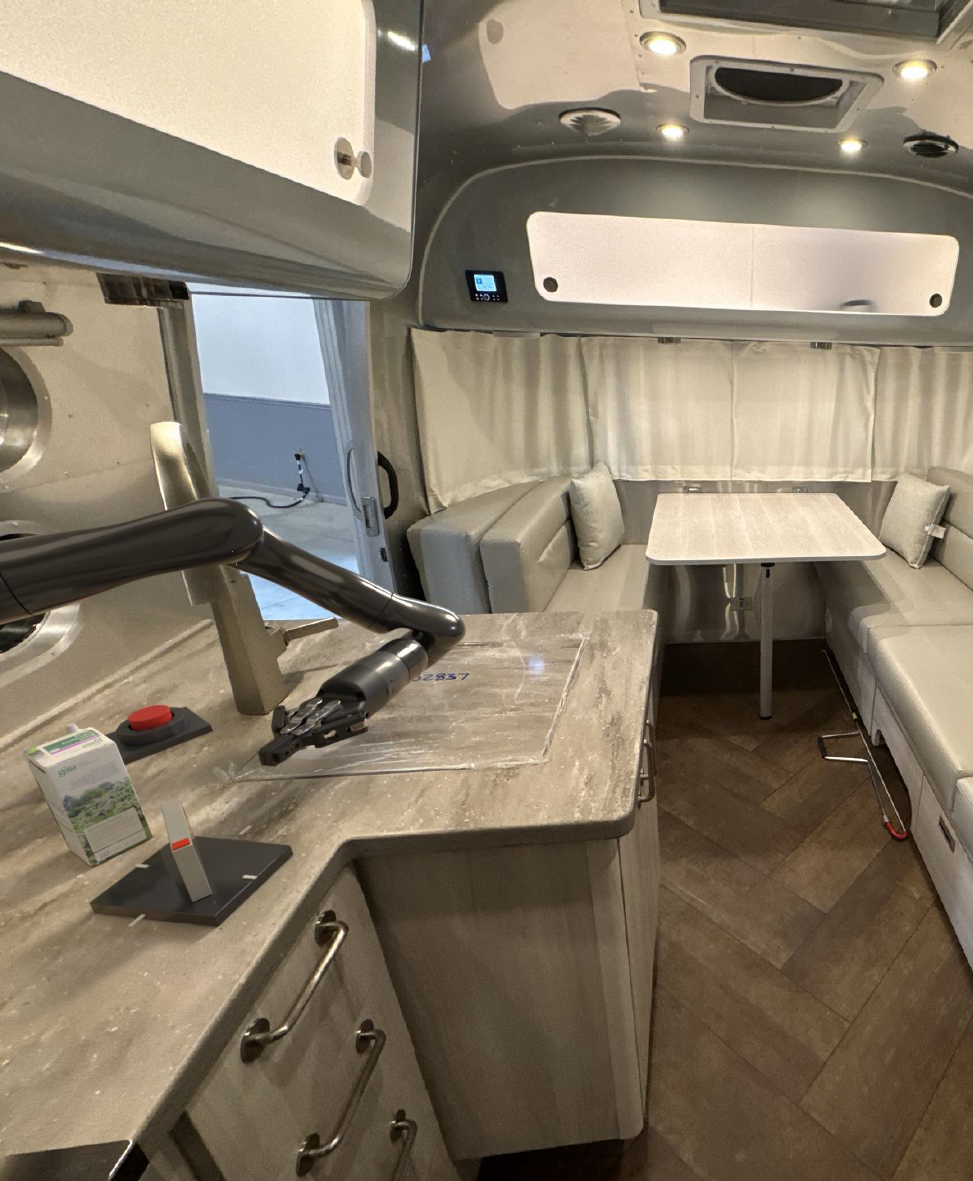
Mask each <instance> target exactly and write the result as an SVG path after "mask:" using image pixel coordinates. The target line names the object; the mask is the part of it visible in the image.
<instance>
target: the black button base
mask: <svg viewBox="0 0 973 1181" xmlns="http://www.w3.org/2000/svg"><path fill="white" fill-rule="evenodd" d="M168 707H169V709H170V712H171V714H172V720H170V721H169V722H167V723H165V724H163V725H160V726H158V727H155V728H152V729H146V730H141V731H137V730H133V729H132V728H131V726H130V723H129V721H128V718H126V719H125V720H124V721H122V722H120V723H119V724H118V726H117V728H116V729H115V731H111V732H109V733H106V734H104V735H105V736H106V737H107V738H109V739H110V740H112V741H114V742H115V743H116V745H117V748H118V750H119V753H120V755H121V758H122V760H123V763H124V765H125V766H126V765H129V764H132V763H134V762H137V761H139V760H142V759H145V758H147V757H150V756H153V755H155V754H158V753H161V752H162V751H165V750H168V749H171V748H173V747H175V746H179V745H180V744H183V743H186V742H189V741H190V740H193V739H196V738H199V737H201V736H204V735H206V734H209V733H211V732H213V731H214V730H213V727H212V724H210V723H209V722H208V721H206V720H205V719H203V718H202V717H201V716H199V715H198V714H197V713H195V712H194V711H192V710H191V709H190V708H188V707H187V706H182V707H178V706H177V707H175V706H168Z"/></svg>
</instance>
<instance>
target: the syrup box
mask: <svg viewBox="0 0 973 1181" xmlns="http://www.w3.org/2000/svg"><path fill="white" fill-rule="evenodd" d="M82 729H83V730H81V731H78V732H75V733H72V734H69V735H67V736H64V737H62V736H61V737H58V738H56V739H53V740H50V741H47V742H44V743H42V744H40V745H37V746H34V747H31V748H29V749H26V750H23V751H22V754H23V757H24V759H25V762H26V764H27V766H28V768H29V770H30V771H31V774H32V776H33V779H34V780H35V782H36V784H37V786H38V788H39V790H40V792H41V794H42V796H43V798H44V800H45V803H46V804H47V807H48V808H49V810H50V813H51V815H52V817H53V819H54V821H55V823H56V825H57V827H58V829H59V832H60V834H61V837H62V838H63V840H64V842H65V844H66V846H67V848H68V850H70V852H72V853H73V854H75V855H76V856H77V857H79V859H81V860H82V861H84V863H86V864H87V865H88V866H90V868H93V867H95V866H98V865H100V864H102V863H104V862H105V861H107V860H109V859H111V858H113V857H116V856H117V855H120V854H121V853H123V852H125V851H127V850H130V849H131V848H133V847H136V846H137V845H139V844H141V843H143V842H145V841H147V840H149V839H151V838H153V837H154V834H153V830H152V828H151V827H150V824H149V822H148V820H147V817H146V814H145V812H144V810H143V807H142V805H141V803H140V800H139V797H138V796H137V792H136V790H135V788H134V785H133V783H132V780H131V778H130V775H129V773H128V771H127V768H126V765H124V763H123V760H122V758H121V755H120V753H119V750H118V748H117V745H116V743H115V742H114V741H112V740H110V739H109V738H107V737H106V736H105V735H106V734H104V733H102V732H101V731H99V730H98V729H96V728H94V727H93V726H89V727H86V728H82Z"/></svg>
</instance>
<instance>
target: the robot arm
mask: <svg viewBox="0 0 973 1181" xmlns="http://www.w3.org/2000/svg"><path fill="white" fill-rule="evenodd" d="M232 551H233V552H232ZM236 563H237V566H236ZM220 565H221V566H225V567H227V568H231V569H234V570H237V571H241V572H244V573H247V574H250V575H253V576H255V577H259V578H260V579H263V580H265V581H268V582H270V583H272V584H276V585H278V586H280V587H282V588H284V589H286V590H288V591H290V592H292V593H294V594H296V595H298V596H300V597H301V598H303V599H306V600H308V601H309V602H311V603H313V604H315V605H317V606H318V607H320V608H322V609H324V610H326V611H328V612H329V613H331V614H332V615H333V614H334V615H335V616H337V617H340V618H342V619H343V620H345V621H348V622H349V623H352V624H354V625H357V626H359V627H360V628H363V629H365V630H367V631H369V632H371V633H374V634H377V635H380V636H381V635H387V634H389V633H391V632H394V631H395V630H398V629H405V630H406V629H407V631H406V632H405V633H404V634H403V635H401V636H400V637H397V638H393V639H391V640H389V641H387V642H385V643H383V644H382V645H381V646H379V647H378V648H377V649H375V650H374V651H372V652H371V653H369V654H367V655H364V656H362V657H360V658H358V659H357V660H355V661H354V662H352V663H351V664H350V665H348V666H346V667H345V668H343V669H342V670H340V671H338V672H337V673H336V674H334V675H332V676H331V677H329V678H328V679H327V680H325V681H324V682H323V683H322V684H321V685H320V687H319V689H318V690H317V693H316V694H315V696H314V697H312V698H309V699H307V700H304V701H303V702H301V703H300V704H299V706H298V707H297V706H296V707H293V708H286V706H285V705H284V704H280V705H277V706H274V707H273V711H272V718H271V725H270V729H271V732H272V735H273V738H274V739H272V740H271V741H269V742H268V743H266V744H265V745H264V746H261V748H260V749H259V750H258V754H257V756H258V759H259V762H260V765H261V766H265V767H274V768H275V767H277V766H279V765H280V764H281V763H283V762H285V761H288V759H289V758H291V757H292V756H293V755H295V754H297V753H298V752H299V751H304V750H306V749H309V748H310V747H311V746H314V748H315V749H322V748H326V747H328V746H331V745H333V744H337V743H339V742H343V741H345V740H348V739H351V738H354V737H356V736H359V735H363V734H365V733H367V732H368V731H369V724H368V720H369V719H370V718H371V717H373V716H374V715H375V714H377V713H378V712H379V711H380V710H381V709H382V708H384V707H385V706H387V705H388V704H389V703H390V702H392V701H393V700H394V699H395V698H396V697H397V696H398V695H399V694H400V693H401V692H402V691H403V690H404V689H405V688H406V687H408V685H410V684H411V683H412V682H413V681H415V680H416V679H418V677H419V676H420V675H422V673H424V672H425V671H427V670H429V669H430V668H431V667H433V666H435V665H436V664H438V662H440V661H441V660H443V658H444V657H445V656H446V655H448V653H450V652H451V651H452V650H453V649H454V648H455V647H456V646H457V645H458V644H459V643H461V642H462V641H463V639H464V638H465V636H466V632H467V627H466V623H465V621H464V620H463V619H462V617H461V616H460V615H459V614H458V613H457V612H455V611H453V610H452V609H450V608H448V607H446V606H442V605H439V604H436V603H433V602H428V601H425V600H420V599H417V598H413V597H408V596H404V595H400V594H398V593H396V592H395V591H392V590H391V589H389V588H387V587H386V586H383V585H381V584H379V583H378V582H375V581H374V580H372V579H369V578H367V577H365V576H363V575H361V574H359V573H357V572H355V571H352V570H349V569H347V568H345V567H343V566H340V565H338V564H336V563H333V562H330V561H328V560H326V559H323V558H321V557H319V556H317V555H315V554H312V553H310V552H308V551H307V550H304V549H303V548H301V547H299V546H297V545H295V544H293V543H292V542H290V541H288V540H287V539H285V538H283V537H282V536H280V535H279V534H277V533H276V532H275V531H273V530H272V529H270V528H269V527H267V526H266V525H264V524H263V521H262V519H261V518H260V516H259V514H258V513H257V512H256V511H254V510H253V509H252V508H251V507H250V506H248V505H246V504H244V503H243V502H241V501H239V500H236V499H233V498H229V497H225V496H224V497H223V496H208V497H202V498H199V499H195V500H192V501H190V502H187V503H184V504H181V505H178V506H175V507H171V508H168V509H165V510H161V511H158V512H154V513H152V514H148V515H144V516H141V517H137V518H132V519H130V520H129V519H128V520H126V521H122V522H118V523H117V522H116V523H113V524H107V525H102V526H95V527H87V528H80V529H71V530H63V531H56V532H55V531H54V532H48V533H42V534H35V535H29V536H22V537H18V538H12V539H11V538H10V539H5V540H0V625H5V624H8V623H12V622H16V621H19V620H22V619H27V618H30V617H31V618H32V617H34V616H38V615H41V614H45V613H48V612H49V613H50V612H51V611H55V610H58V609H61V608H65V607H68V606H70V605H73V604H77V603H80V602H83V601H86V600H88V599H92V598H94V597H96V596H97V597H98V596H99V595H101V594H104V593H107V592H110V591H112V590H115V589H118V588H120V587H122V586H126V585H128V584H131V583H134V582H138V581H141V580H145V579H150V578H152V577H157V576H158V577H159V576H162V575H167V574H172V573H177V572H183V571H188V570H194V569H200V568H206V567H212V566H220Z"/></svg>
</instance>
